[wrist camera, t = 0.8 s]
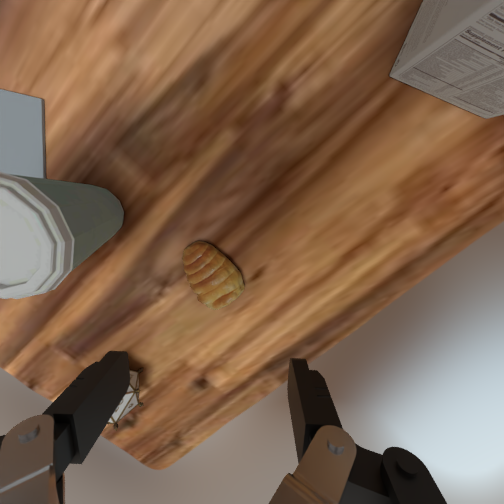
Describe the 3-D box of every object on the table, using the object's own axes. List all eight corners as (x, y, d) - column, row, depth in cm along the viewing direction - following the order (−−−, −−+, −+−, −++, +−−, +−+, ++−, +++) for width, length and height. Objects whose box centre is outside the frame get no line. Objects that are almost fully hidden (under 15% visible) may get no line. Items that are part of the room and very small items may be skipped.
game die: (132, 347, 43) (107, 349, 34) (164, 386, 42) (147, 399, 32) (85, 389, 40) (43, 403, 31) (117, 432, 39) (83, 461, 30)
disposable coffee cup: (137, 172, 31) (36, 170, 17) (145, 254, 34) (66, 311, 20) (52, 169, 31) (-122, 165, 17) (68, 252, 34) (-66, 307, 20)
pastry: (172, 255, 34) (163, 264, 31) (212, 229, 33) (207, 235, 30) (211, 306, 37) (207, 321, 33) (250, 284, 36) (250, 296, 32)
